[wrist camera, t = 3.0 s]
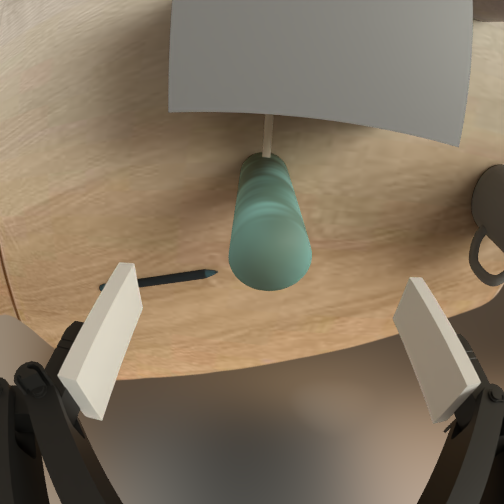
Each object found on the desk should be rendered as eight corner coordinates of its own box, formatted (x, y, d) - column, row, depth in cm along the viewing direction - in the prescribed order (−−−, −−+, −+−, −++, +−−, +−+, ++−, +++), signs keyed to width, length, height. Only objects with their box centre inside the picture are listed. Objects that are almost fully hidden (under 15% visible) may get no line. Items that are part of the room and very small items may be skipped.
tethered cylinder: (231, 195, 29) (214, 288, 18) (239, 14, 20) (223, -42, 8) (293, 198, 29) (318, 292, 18) (310, 20, 20) (361, -26, 8)
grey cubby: (200, 98, 24) (168, 112, 15) (206, -14, 19) (178, -59, 10) (395, 119, 25) (458, 147, 16) (405, 14, 19) (472, -2, 10)
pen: (219, 272, 35) (218, 278, 34) (104, 288, 37) (101, 294, 36) (217, 264, 34) (216, 271, 33) (100, 282, 36) (97, 288, 35)
